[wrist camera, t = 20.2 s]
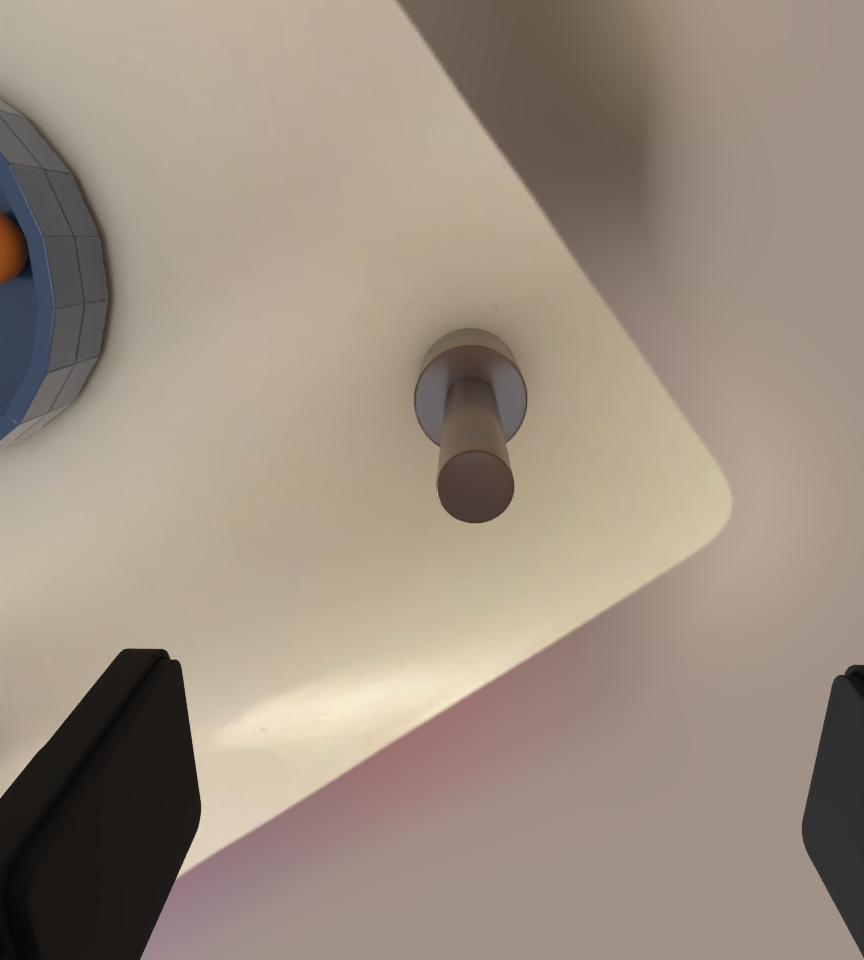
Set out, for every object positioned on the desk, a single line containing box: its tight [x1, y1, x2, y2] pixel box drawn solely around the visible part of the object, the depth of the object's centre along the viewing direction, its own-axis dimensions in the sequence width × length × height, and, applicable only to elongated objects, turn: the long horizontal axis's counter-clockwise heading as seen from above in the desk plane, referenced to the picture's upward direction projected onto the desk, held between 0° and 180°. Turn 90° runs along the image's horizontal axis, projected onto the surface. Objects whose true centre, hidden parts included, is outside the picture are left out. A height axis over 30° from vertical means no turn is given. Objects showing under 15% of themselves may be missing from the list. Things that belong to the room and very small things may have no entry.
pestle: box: [414, 329, 527, 523], centre depth 25 cm, size 4×4×15 cm
